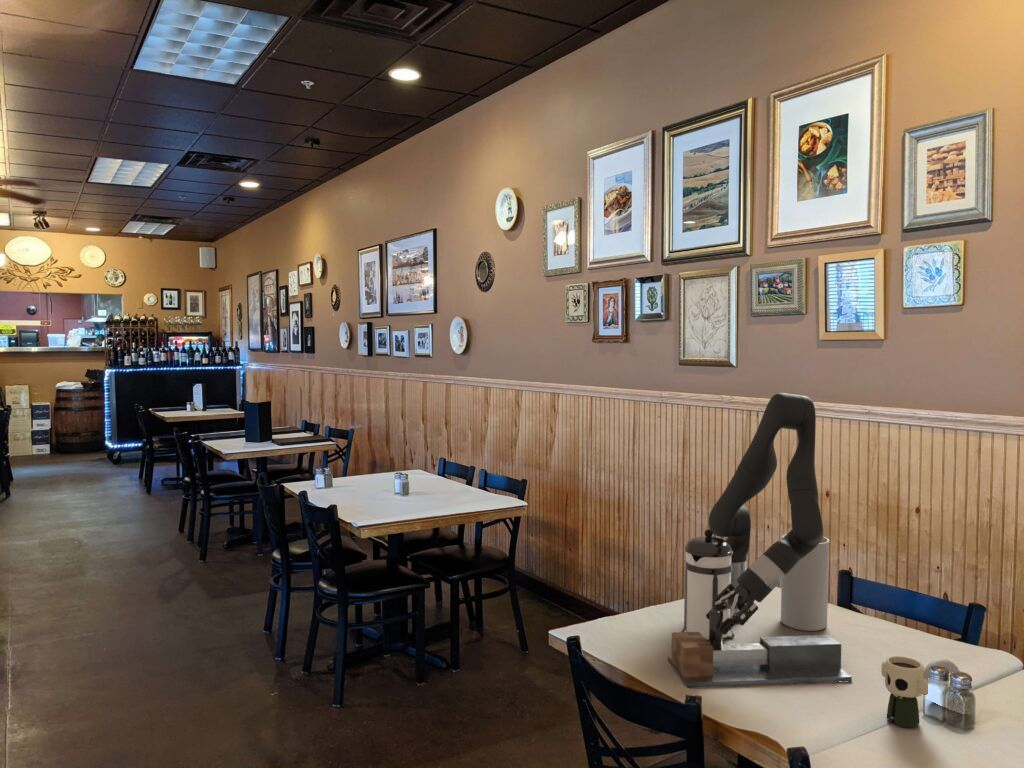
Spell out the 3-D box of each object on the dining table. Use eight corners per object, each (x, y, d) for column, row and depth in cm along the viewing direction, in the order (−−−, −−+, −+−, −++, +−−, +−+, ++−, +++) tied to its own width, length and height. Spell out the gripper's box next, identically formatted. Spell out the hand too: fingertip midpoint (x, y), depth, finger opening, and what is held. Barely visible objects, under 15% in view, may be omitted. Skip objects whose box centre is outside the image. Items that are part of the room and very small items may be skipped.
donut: (928, 709, 168) (930, 664, 167) (916, 702, 171) (917, 658, 170) (964, 703, 171) (965, 659, 170) (951, 696, 174) (952, 653, 173)
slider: (690, 660, 187) (691, 609, 187) (784, 657, 190) (785, 606, 189) (696, 666, 184) (697, 614, 183) (791, 663, 186) (792, 611, 186)
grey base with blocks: (667, 660, 193) (667, 632, 193) (818, 655, 197) (818, 627, 197) (688, 687, 177) (688, 657, 177) (851, 681, 181) (852, 651, 181)
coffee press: (746, 649, 201) (748, 536, 200) (685, 648, 201) (686, 535, 200) (728, 625, 218) (730, 521, 217) (672, 624, 219) (674, 521, 217)
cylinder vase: (771, 620, 223) (773, 535, 222) (803, 614, 228) (805, 531, 227) (804, 634, 211) (806, 545, 210) (836, 628, 217) (839, 541, 216)
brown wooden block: (671, 660, 190) (671, 632, 190) (698, 659, 191) (698, 631, 191) (684, 677, 180) (684, 648, 180) (712, 676, 181) (713, 647, 181)
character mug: (869, 714, 165) (870, 655, 164) (892, 708, 168) (894, 650, 167) (914, 737, 155) (915, 675, 154) (938, 731, 158) (939, 669, 157)
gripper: (739, 559, 193) (694, 605, 193) (763, 576, 179) (714, 625, 178) (759, 579, 194) (714, 625, 193) (784, 598, 180) (736, 647, 179)
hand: (714, 625), depth 186 cm, fingers open, 8 cm apart
